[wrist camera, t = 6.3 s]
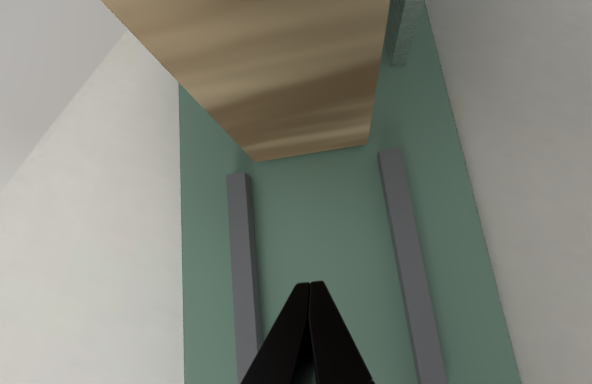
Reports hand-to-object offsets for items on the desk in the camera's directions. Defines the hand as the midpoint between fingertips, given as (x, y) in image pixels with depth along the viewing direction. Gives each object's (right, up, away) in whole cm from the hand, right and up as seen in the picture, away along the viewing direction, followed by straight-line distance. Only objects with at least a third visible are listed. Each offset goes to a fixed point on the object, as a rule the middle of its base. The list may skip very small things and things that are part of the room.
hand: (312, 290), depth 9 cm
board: (+1, +4, +8) cm, 9 cm away
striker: (0, +6, +7) cm, 10 cm away
